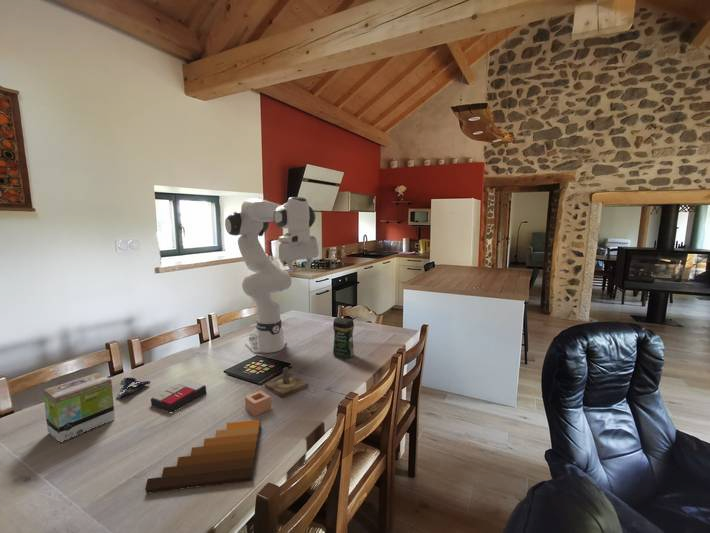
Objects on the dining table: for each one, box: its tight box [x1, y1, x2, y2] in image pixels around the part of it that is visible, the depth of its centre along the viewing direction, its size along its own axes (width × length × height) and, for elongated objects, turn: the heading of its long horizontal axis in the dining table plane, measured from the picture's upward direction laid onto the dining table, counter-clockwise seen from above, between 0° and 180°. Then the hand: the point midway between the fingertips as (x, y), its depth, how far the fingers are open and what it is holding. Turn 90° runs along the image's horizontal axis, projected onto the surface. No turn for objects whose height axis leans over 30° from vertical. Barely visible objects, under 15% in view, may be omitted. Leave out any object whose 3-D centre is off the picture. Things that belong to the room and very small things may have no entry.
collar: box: [244, 390, 272, 416], centre depth 124 cm, size 6×6×4 cm
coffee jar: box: [332, 316, 355, 360], centre depth 169 cm, size 10×8×19 cm
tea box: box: [42, 372, 116, 443], centre depth 113 cm, size 15×10×15 cm, turn 148°
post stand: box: [264, 366, 309, 399], centre depth 139 cm, size 12×12×8 cm
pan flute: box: [144, 419, 261, 494], centre depth 101 cm, size 25×3×25 cm
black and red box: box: [150, 379, 208, 413], centre depth 130 cm, size 11×4×15 cm
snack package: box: [116, 377, 151, 399], centre depth 137 cm, size 12×6×12 cm
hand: (300, 270), depth 148 cm, fingers open, 8 cm apart
